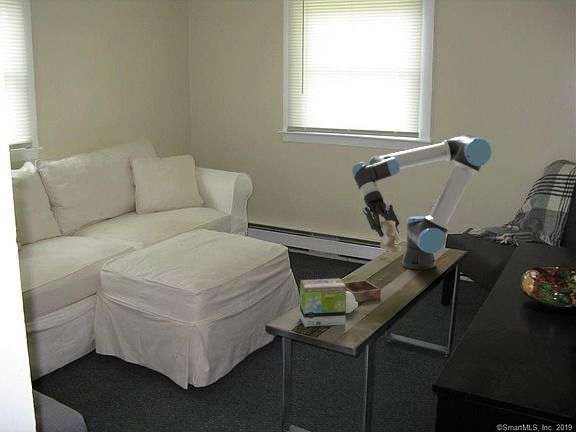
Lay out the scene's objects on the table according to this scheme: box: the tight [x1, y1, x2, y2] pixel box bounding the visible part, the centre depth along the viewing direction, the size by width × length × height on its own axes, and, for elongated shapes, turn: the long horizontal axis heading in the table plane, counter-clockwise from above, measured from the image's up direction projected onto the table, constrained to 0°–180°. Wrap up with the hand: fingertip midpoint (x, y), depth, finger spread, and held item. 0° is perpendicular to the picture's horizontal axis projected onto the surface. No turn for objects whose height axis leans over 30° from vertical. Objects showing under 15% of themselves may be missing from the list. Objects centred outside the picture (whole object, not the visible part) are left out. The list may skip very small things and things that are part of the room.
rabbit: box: [346, 291, 359, 314], centre depth 247 cm, size 12×9×12 cm
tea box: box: [299, 278, 347, 328], centre depth 236 cm, size 15×10×15 cm
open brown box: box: [343, 279, 381, 303], centre depth 264 cm, size 12×13×4 cm
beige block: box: [379, 220, 403, 253], centre depth 266 cm, size 5×8×11 cm, turn 26°
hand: (392, 241), depth 265 cm, fingers closed on beige block, 5 cm apart
